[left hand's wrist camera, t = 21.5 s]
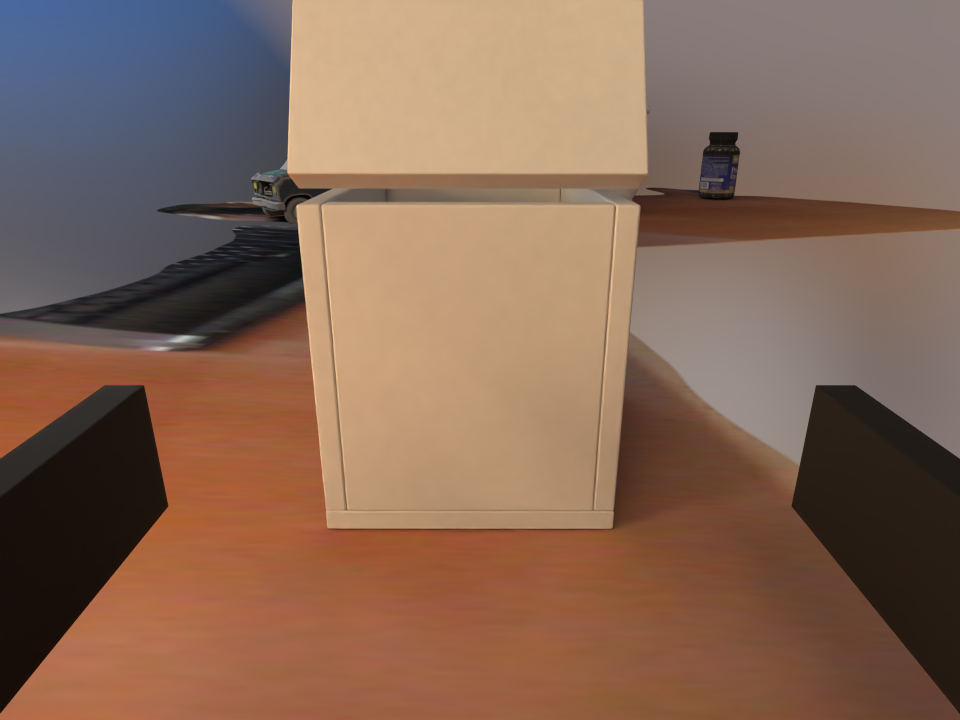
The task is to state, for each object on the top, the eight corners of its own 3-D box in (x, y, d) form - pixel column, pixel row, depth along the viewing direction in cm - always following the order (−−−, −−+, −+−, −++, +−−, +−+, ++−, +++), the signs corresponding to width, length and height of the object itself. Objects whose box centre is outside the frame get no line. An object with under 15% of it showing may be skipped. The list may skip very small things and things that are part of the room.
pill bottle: (735, 199, 111) (744, 132, 107) (698, 198, 113) (706, 132, 109) (731, 195, 117) (740, 131, 113) (697, 194, 118) (704, 131, 114)
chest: (383, 379, 34) (371, 170, 30) (564, 379, 34) (574, 170, 30) (327, 528, 22) (295, 204, 18) (613, 529, 22) (641, 204, 18)
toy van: (251, 216, 91) (242, 142, 88) (402, 203, 105) (399, 139, 101) (278, 225, 83) (269, 144, 80) (437, 210, 97) (436, 141, 93)
